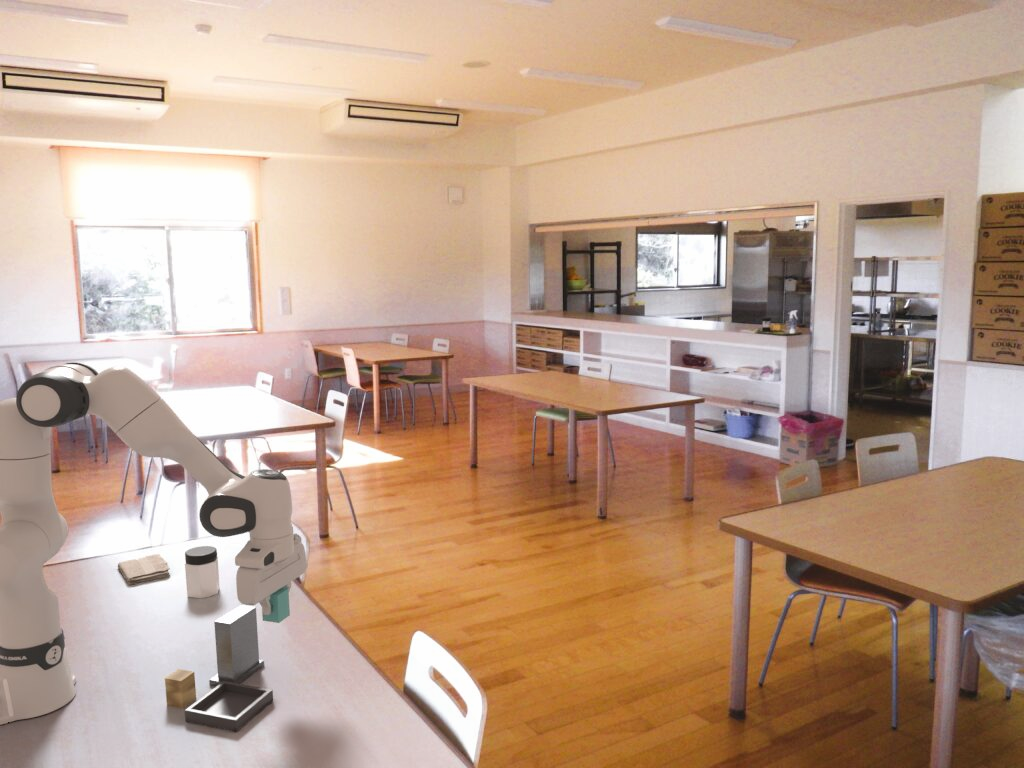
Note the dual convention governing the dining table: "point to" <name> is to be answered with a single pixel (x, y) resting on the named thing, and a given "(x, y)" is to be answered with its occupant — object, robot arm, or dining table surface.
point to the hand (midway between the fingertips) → (275, 608)
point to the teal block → (278, 606)
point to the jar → (202, 572)
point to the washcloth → (144, 569)
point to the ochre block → (180, 688)
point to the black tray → (229, 706)
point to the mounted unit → (236, 646)
